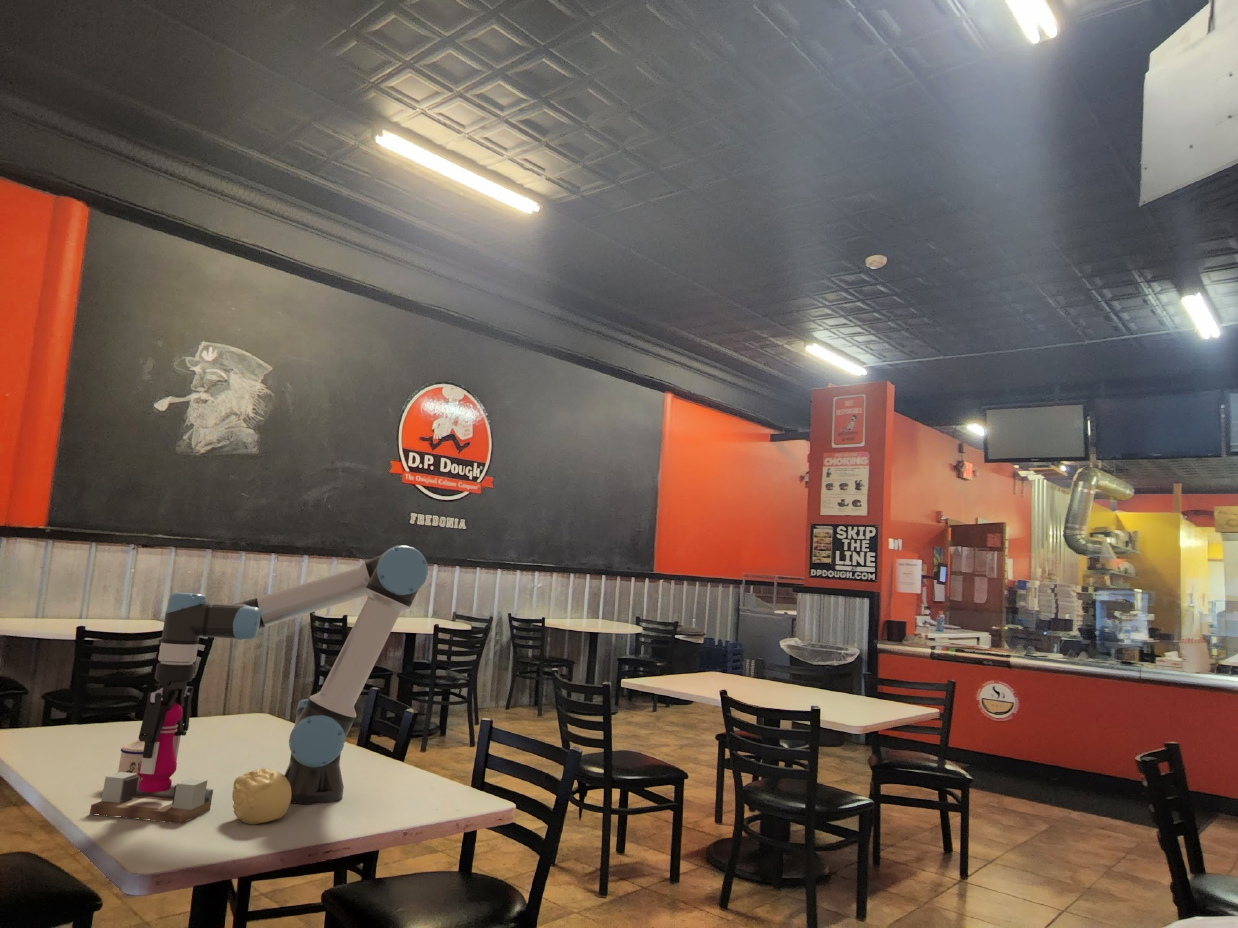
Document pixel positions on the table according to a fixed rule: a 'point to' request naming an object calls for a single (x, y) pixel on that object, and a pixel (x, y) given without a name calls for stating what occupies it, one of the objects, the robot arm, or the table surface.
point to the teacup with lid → (131, 758)
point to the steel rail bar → (172, 793)
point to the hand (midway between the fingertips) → (158, 769)
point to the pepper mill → (163, 755)
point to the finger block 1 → (120, 787)
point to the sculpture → (261, 796)
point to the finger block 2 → (189, 794)
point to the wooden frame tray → (148, 809)
